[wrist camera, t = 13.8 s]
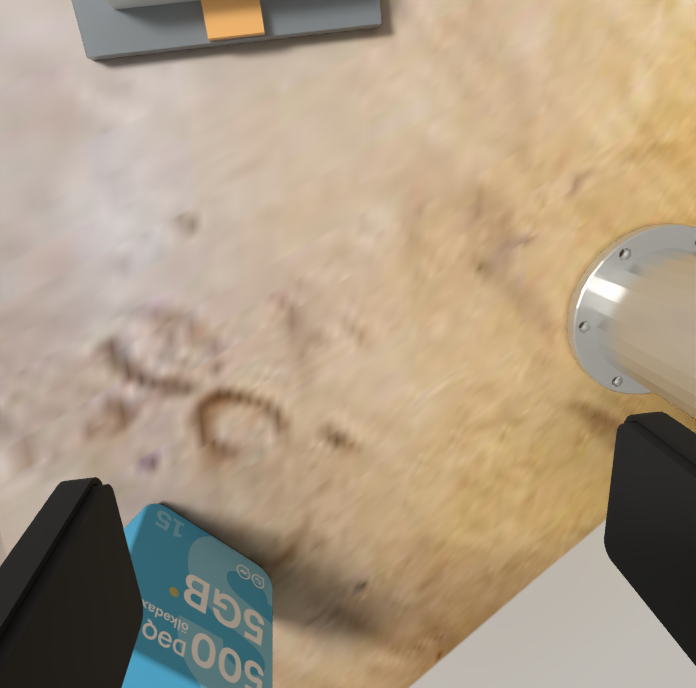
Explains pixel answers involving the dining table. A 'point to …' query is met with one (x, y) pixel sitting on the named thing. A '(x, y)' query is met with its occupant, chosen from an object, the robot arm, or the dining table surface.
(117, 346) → the dining table surface
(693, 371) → the robot arm
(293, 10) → the tray
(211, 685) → the data package
